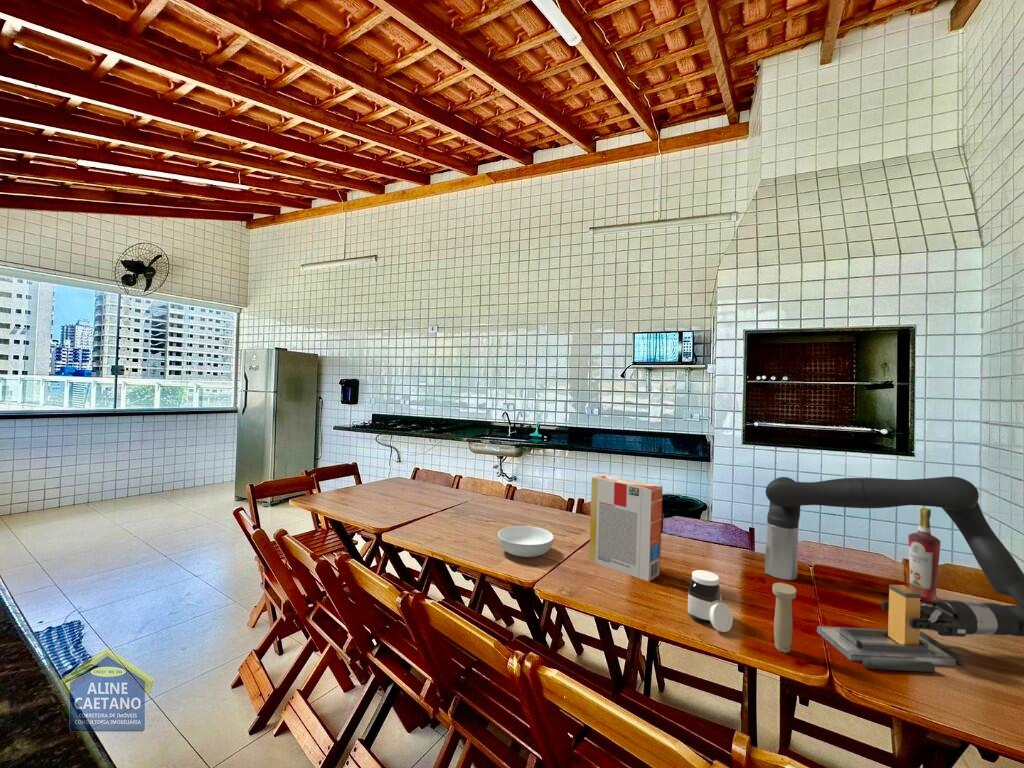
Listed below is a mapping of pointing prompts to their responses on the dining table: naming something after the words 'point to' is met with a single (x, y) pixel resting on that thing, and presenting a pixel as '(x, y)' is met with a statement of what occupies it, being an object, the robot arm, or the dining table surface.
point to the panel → (881, 646)
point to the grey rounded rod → (899, 665)
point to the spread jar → (708, 601)
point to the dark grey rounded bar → (943, 648)
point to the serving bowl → (525, 540)
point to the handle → (783, 616)
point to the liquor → (924, 558)
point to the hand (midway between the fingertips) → (896, 614)
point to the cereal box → (626, 526)
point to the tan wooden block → (903, 614)
